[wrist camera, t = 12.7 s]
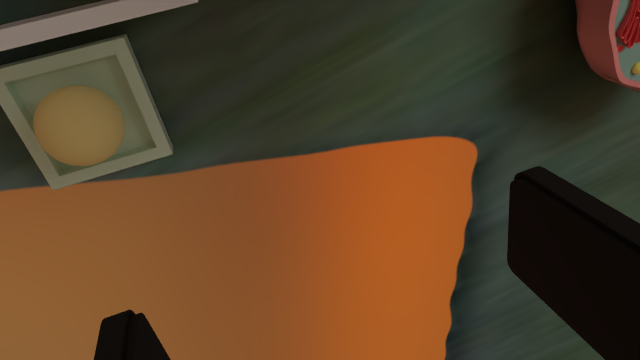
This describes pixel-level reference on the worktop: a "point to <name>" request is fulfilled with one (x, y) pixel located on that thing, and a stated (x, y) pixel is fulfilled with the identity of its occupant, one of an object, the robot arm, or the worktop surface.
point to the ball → (79, 125)
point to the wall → (80, 20)
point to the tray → (96, 72)
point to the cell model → (611, 39)
